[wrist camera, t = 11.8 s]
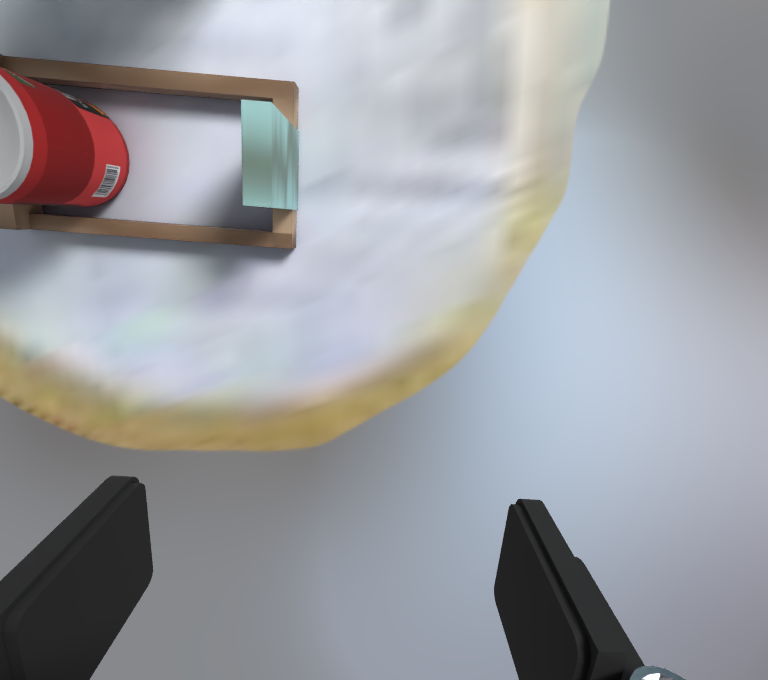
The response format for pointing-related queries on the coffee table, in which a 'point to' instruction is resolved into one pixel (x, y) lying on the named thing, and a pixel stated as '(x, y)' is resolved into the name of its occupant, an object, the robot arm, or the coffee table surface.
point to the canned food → (56, 147)
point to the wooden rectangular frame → (259, 150)
